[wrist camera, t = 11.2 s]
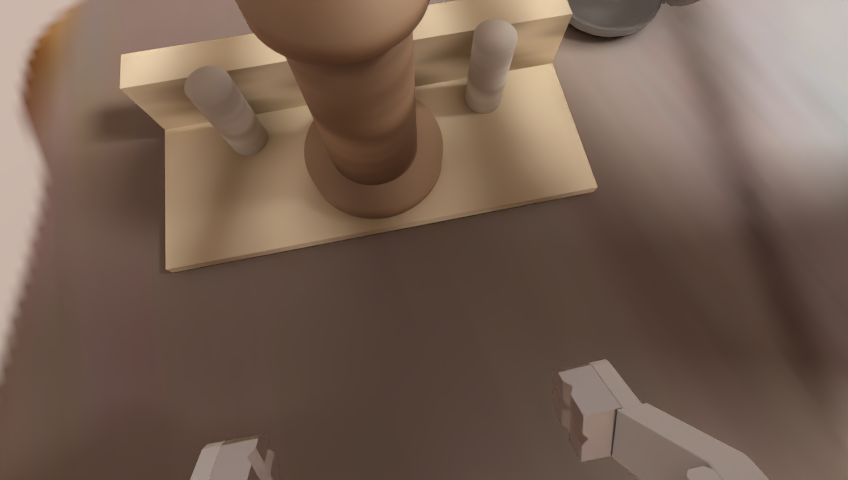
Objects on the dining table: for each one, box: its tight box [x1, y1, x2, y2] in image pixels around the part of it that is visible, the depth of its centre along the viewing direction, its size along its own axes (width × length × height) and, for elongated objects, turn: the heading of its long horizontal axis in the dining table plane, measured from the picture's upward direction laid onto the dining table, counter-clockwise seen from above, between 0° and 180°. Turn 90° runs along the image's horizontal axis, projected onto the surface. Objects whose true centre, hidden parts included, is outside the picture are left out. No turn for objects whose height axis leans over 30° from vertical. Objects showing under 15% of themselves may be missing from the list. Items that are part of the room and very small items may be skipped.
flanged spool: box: [235, 0, 443, 219], centre depth 16 cm, size 7×7×11 cm
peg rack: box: [120, 0, 598, 272], centre depth 20 cm, size 22×10×5 cm, turn 101°
